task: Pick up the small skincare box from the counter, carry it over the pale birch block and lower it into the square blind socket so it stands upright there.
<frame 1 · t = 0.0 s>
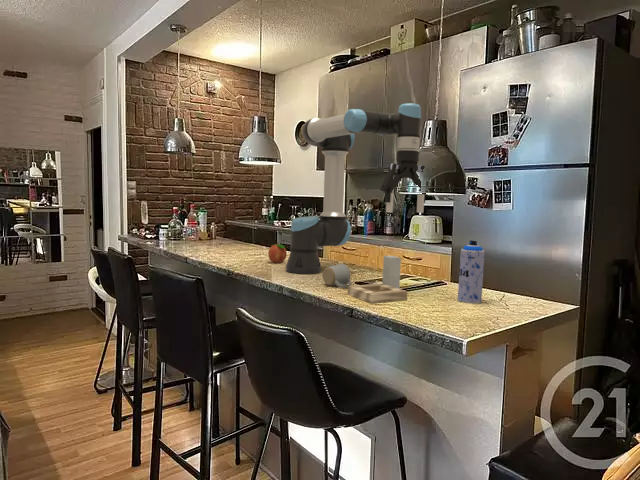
hand: (404, 212, 164), 28 cm above the worktop, tool pointing down, fingers open, 13 cm apart
ceramic mug: (338, 286, 174), on the worktop
socket block: (376, 297, 157), on the worktop
skincare box: (390, 290, 170), on the worktop
aerosol can: (469, 301, 156), on the worktop
fruit: (277, 263, 224), on the worktop
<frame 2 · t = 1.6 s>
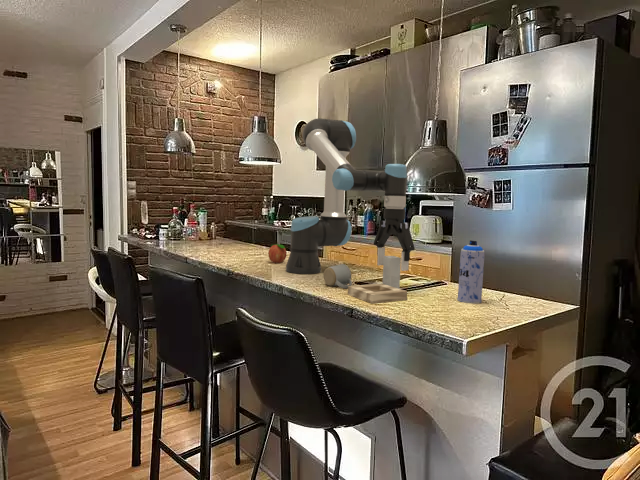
hand: (392, 267, 169), 8 cm above the worktop, tool pointing down, fingers open, 13 cm apart
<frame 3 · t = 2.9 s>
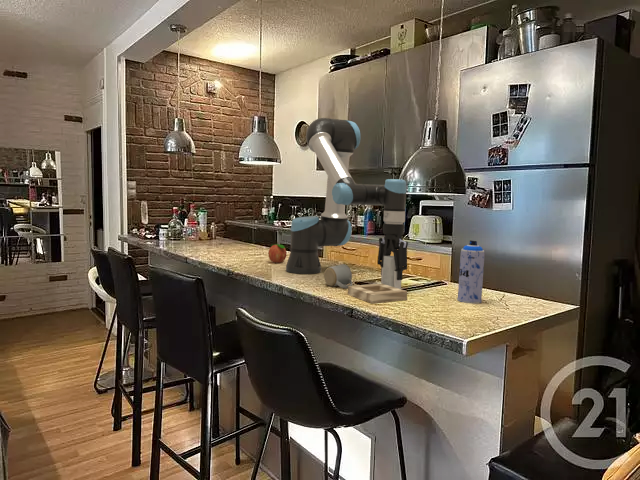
hand: (390, 286, 170), 1 cm above the worktop, tool pointing down, fingers closed on skincare box, 7 cm apart
skincare box: (390, 290, 170), on the worktop, touching gripper
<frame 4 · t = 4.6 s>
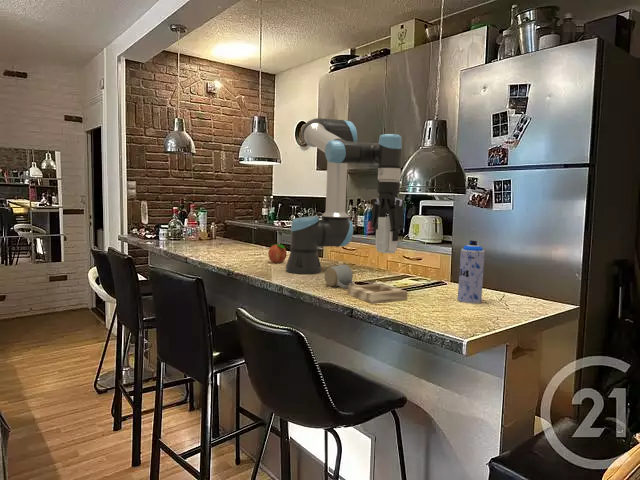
hand: (385, 249, 161), 15 cm above the worktop, tool pointing down, fingers closed on skincare box, 7 cm apart
skincare box: (385, 253, 161), point 14 cm above the worktop, touching gripper
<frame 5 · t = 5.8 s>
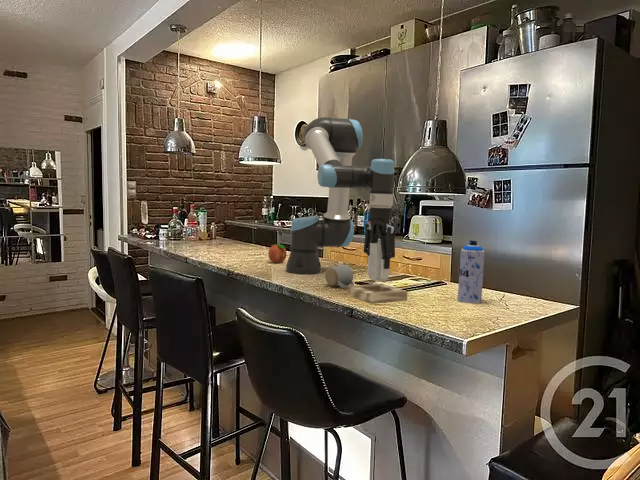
hand: (377, 276, 156), 7 cm above the worktop, tool pointing down, fingers closed on skincare box, 7 cm apart
skincare box: (377, 280, 157), point 6 cm above the worktop, touching gripper
when the fingers open (4 cm above the worktop, at t = 6.8 s): skincare box drops 2 cm, resting on socket block.
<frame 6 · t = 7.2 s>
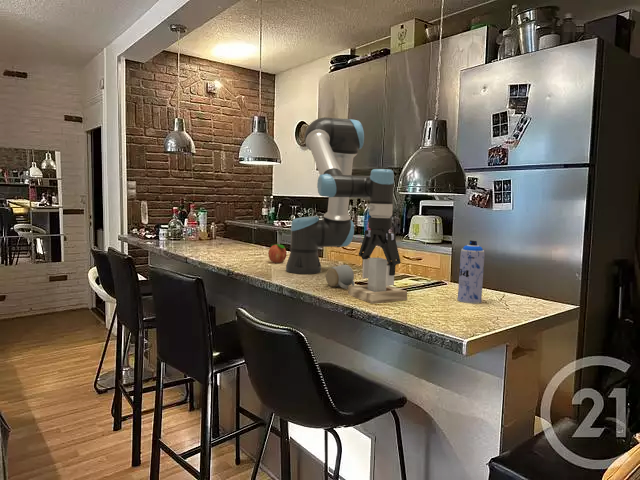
hand: (377, 281, 157), 5 cm above the worktop, tool pointing down, fingers open, 12 cm apart
skincare box: (376, 294, 157), point 1 cm above the worktop, touching socket block
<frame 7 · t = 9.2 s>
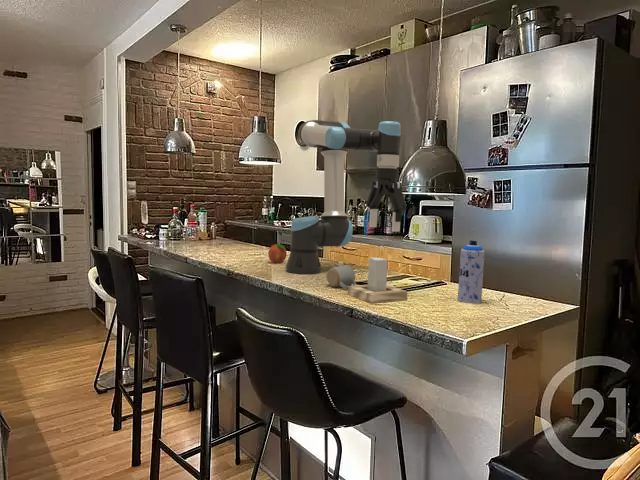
hand: (383, 229, 165), 22 cm above the worktop, tool pointing down, fingers open, 13 cm apart
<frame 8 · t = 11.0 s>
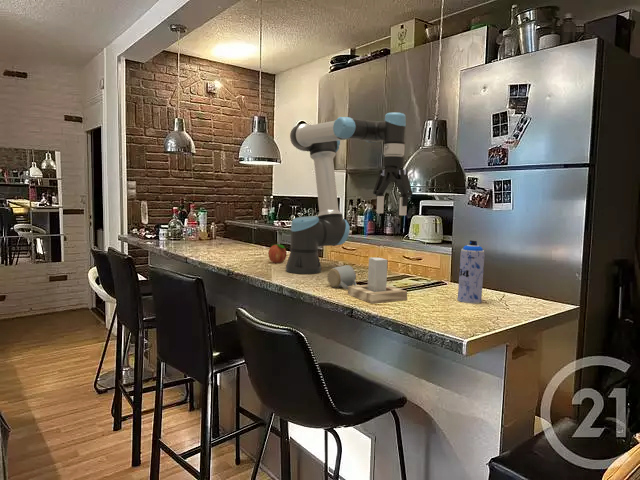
hand: (390, 214, 175), 27 cm above the worktop, tool pointing down, fingers open, 13 cm apart
at the end: skincare box inside the target area on the socket block (0.2 cm from its centre), point 0.7 cm above the socket block's base; skincare box tilted 0°; the gripper is holding nothing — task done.
